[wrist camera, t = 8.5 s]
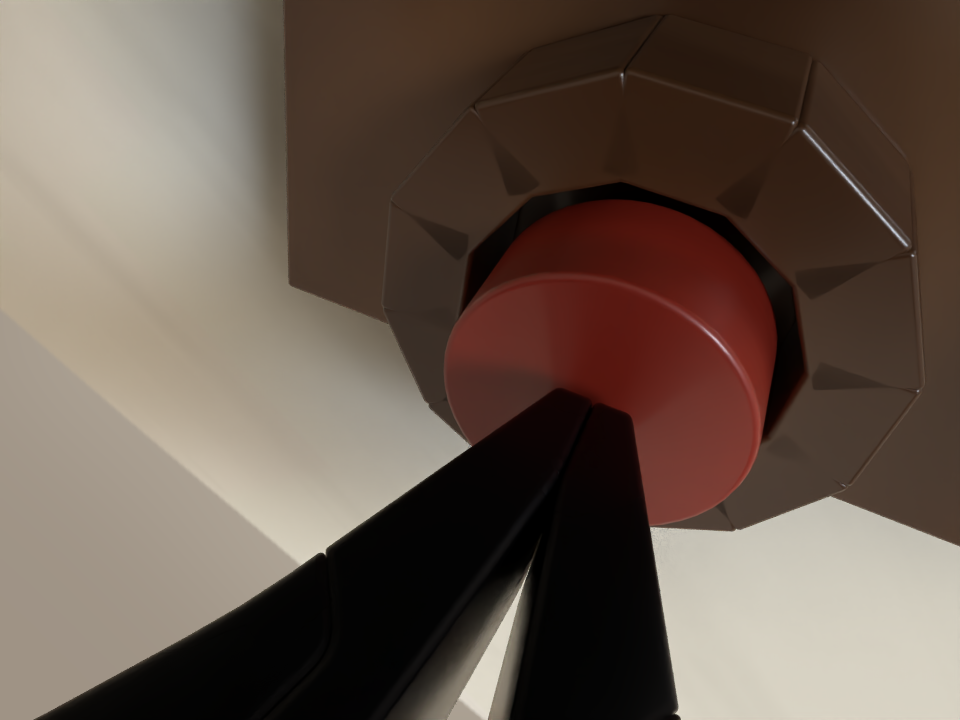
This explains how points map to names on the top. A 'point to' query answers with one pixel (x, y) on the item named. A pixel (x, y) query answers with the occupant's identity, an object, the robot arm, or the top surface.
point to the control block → (663, 195)
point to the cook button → (626, 342)
